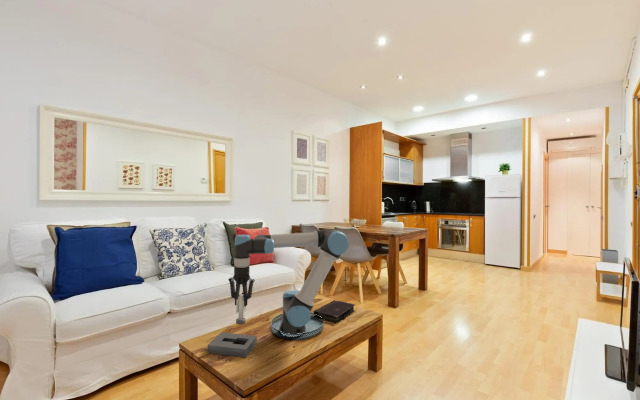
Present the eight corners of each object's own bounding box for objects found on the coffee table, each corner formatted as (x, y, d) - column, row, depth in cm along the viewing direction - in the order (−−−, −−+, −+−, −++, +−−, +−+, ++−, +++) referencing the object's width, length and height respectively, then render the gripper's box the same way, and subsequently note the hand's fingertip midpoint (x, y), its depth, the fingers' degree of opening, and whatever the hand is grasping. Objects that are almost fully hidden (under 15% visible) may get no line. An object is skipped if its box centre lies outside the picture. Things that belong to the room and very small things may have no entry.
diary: (312, 317, 197) (312, 310, 197) (333, 306, 218) (333, 299, 218) (337, 324, 186) (337, 316, 186) (356, 312, 207) (356, 304, 207)
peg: (246, 321, 156) (247, 294, 156) (243, 324, 152) (243, 297, 152) (238, 320, 157) (239, 293, 157) (234, 324, 153) (235, 296, 152)
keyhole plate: (256, 343, 161) (256, 335, 161) (246, 357, 147) (246, 349, 147) (221, 339, 164) (221, 332, 164) (207, 353, 150) (207, 345, 150)
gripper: (259, 265, 156) (258, 310, 157) (230, 263, 159) (230, 307, 159) (253, 268, 149) (252, 316, 149) (224, 266, 151) (223, 313, 152)
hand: (240, 311), depth 154 cm, fingers closed on peg, 2 cm apart
